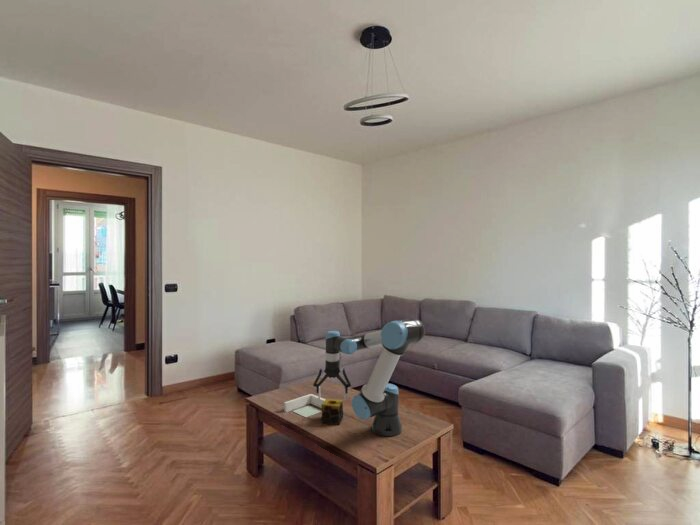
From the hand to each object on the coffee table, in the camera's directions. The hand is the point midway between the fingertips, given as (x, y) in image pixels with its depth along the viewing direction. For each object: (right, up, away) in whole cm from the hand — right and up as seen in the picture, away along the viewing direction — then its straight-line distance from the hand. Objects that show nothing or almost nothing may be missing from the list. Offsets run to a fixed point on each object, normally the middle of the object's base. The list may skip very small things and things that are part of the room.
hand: (332, 399), depth 206 cm
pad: (-15, -11, +12) cm, 22 cm away
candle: (0, -12, 0) cm, 12 cm away
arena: (-14, -11, +12) cm, 22 cm away
